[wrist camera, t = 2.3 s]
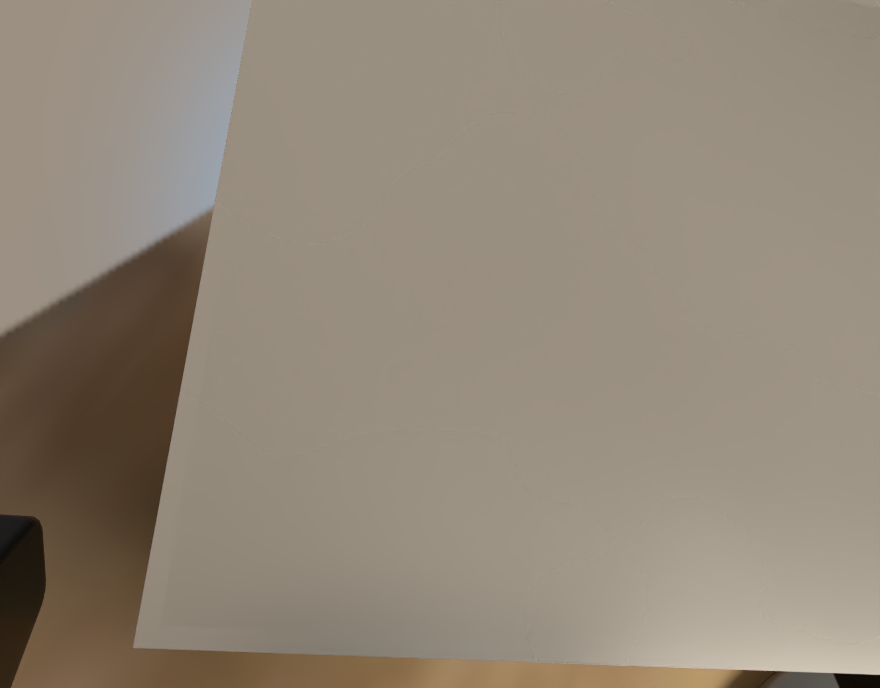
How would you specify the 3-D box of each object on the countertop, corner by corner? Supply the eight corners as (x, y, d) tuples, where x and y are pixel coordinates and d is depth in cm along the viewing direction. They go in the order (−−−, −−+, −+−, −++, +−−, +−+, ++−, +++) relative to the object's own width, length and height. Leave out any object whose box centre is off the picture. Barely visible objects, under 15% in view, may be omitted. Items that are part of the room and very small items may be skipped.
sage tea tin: (484, 643, 17) (1088, 683, 4) (259, 634, 16) (132, 647, 3) (488, 428, 19) (901, 4, 6) (286, 410, 18) (275, -128, 5)
